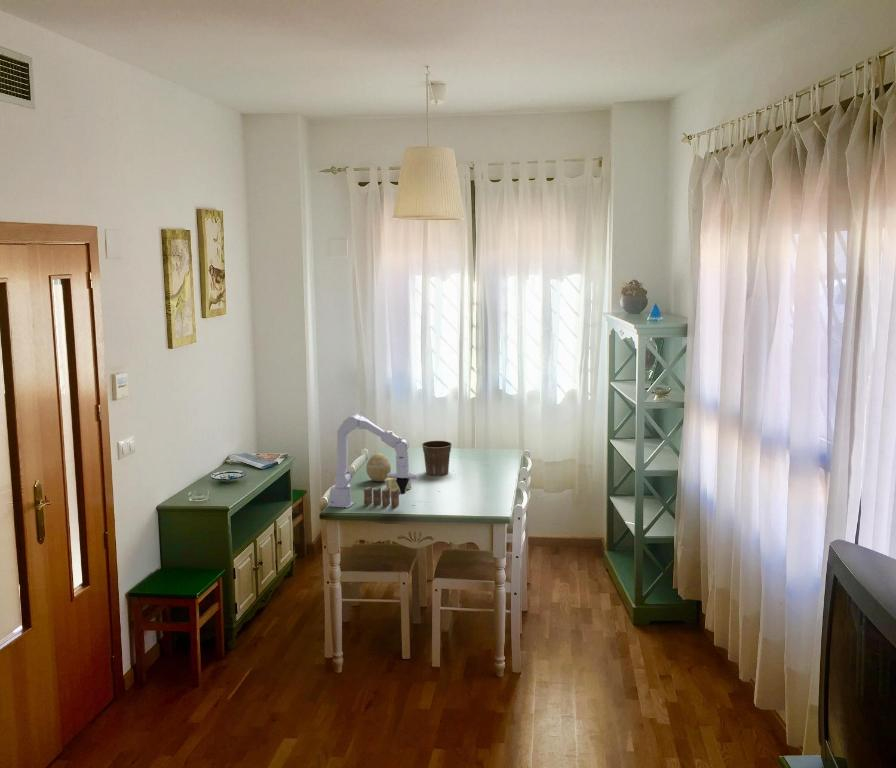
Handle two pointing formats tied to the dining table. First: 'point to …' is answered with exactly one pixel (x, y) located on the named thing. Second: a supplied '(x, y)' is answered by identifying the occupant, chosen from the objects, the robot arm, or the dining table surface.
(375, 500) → the tile
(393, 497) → the far tile
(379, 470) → the fossilized egg
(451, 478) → the dining table surface
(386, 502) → the middle tile
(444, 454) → the plant pot
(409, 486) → the candy box
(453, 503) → the dining table surface
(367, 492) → the end tile
